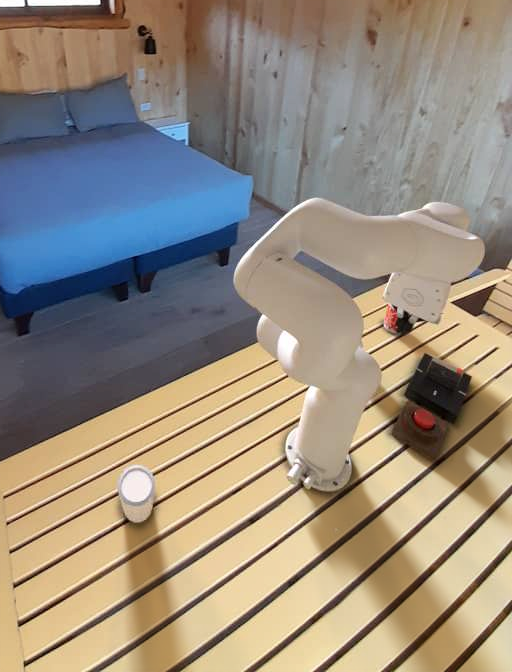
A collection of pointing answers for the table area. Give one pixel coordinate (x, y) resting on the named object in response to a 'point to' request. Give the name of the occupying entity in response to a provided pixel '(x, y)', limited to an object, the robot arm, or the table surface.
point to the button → (424, 419)
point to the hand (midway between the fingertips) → (402, 330)
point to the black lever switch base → (437, 392)
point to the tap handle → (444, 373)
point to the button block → (419, 431)
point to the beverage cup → (391, 319)
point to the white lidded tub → (136, 492)
